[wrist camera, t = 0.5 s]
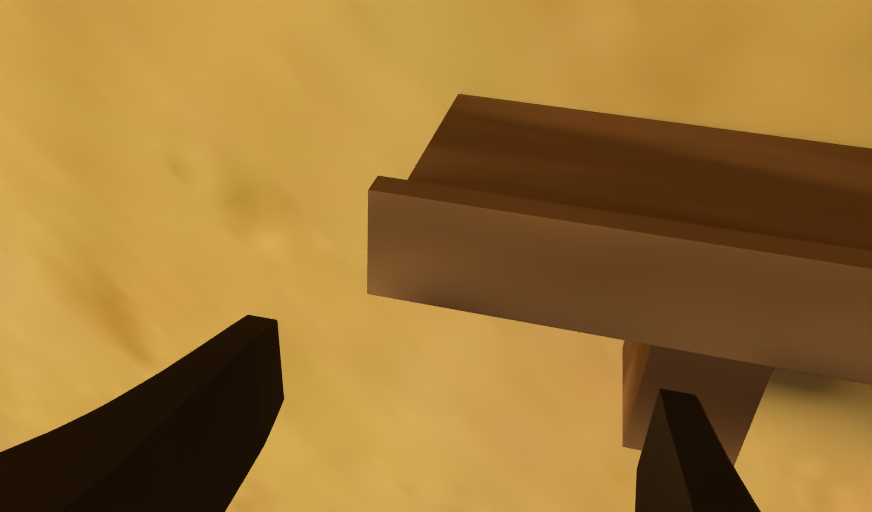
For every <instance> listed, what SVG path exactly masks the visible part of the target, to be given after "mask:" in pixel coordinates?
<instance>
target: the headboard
mask: <svg viewBox="0 0 872 512" xmlns="http://www.w3.org/2000/svg"><path fill="white" fill-rule="evenodd" d="M367 294H371V295H377V296H383V297H388V298H394V299H399V300H405V301H410V302H416V303H421V304H427V305H433V306H438V307H444V308H449V309H455V310H460V311H466V312H471V313H477V314H483V315H488V316H494V317H499V318H505V319H510V320H516V321H521V322H527V323H533V324H538V325H544V326H549V327H555V328H560V329H566V330H571V331H577V332H583V333H588V334H594V335H599V336H605V337H610V338H616V339H621V340H625V342H624V345H623V447H627V448H632V449H637V450H642V449H643V445H644V442H645V438H646V435H647V431H648V428H649V424H650V421H651V417H652V414H653V410H654V406H655V403H656V399H657V396H658V392H659V389H660V388H661V389H666V390H672V391H677V392H683V393H689V394H694V395H696V396H697V398H698V399H699V400H700V402H701V404H702V406H703V408H704V411H705V413H706V415H707V417H708V419H709V421H710V423H711V425H712V427H713V429H714V431H715V433H716V435H717V437H718V439H719V441H720V442H721V444H722V446H723V448H724V450H725V452H726V454H727V456H728V457H729V459H730V461H731V463H732V465H733V466H734V464H735V462H736V459H737V457H738V455H739V452H740V450H741V447H742V445H743V442H744V440H745V437H746V435H747V432H748V430H749V428H750V425H751V423H752V420H753V418H754V415H755V413H756V410H757V408H758V405H759V403H760V400H761V398H762V396H763V393H764V391H765V388H766V386H767V383H768V381H769V378H770V376H771V373H772V371H773V368H774V367H777V368H783V369H788V370H794V371H799V372H805V373H810V374H816V375H822V376H827V377H833V378H838V379H844V380H849V381H855V382H860V383H866V384H872V149H867V148H859V147H852V146H844V145H837V144H829V143H822V142H814V141H807V140H799V139H792V138H784V137H777V136H769V135H762V134H754V133H747V132H739V131H732V130H724V129H717V128H709V127H702V126H694V125H686V124H679V123H671V122H664V121H656V120H649V119H641V118H634V117H626V116H619V115H611V114H604V113H596V112H589V111H581V110H574V109H566V108H559V107H551V106H544V105H536V104H529V103H521V102H513V101H506V100H498V99H491V98H483V97H476V96H468V95H461V94H458V95H457V97H456V99H455V100H454V102H453V104H452V106H451V107H450V109H449V111H448V112H447V114H446V116H445V117H444V119H443V121H442V122H441V124H440V126H439V127H438V129H437V131H436V132H435V134H434V136H433V138H432V139H431V141H430V143H429V144H428V146H427V148H426V149H425V151H424V153H423V154H422V156H421V158H420V159H419V161H418V163H417V164H416V166H415V168H414V170H413V171H412V173H411V175H410V176H409V178H408V180H403V179H396V178H390V177H383V176H377V178H376V179H375V181H374V182H373V184H372V185H371V187H370V188H369V190H368V265H367Z"/></svg>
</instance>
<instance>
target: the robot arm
mask: <svg viewBox="0 0 872 512" xmlns="http://www.w3.org/2000/svg"><path fill="white" fill-rule="evenodd" d="M283 401H284V393H283V381H282V370H281V358H280V346H279V335H278V323H277V320H274V319H269V318H263V317H257V316H252V315H247V316H245V317H244V318H242V319H240V320H239V321H237V322H236V323H234V324H233V325H231V326H230V327H228V328H227V329H225V330H224V331H222V332H221V333H219V334H218V335H216V336H215V337H213V338H212V339H210V340H209V341H207V342H206V343H204V344H203V345H201V346H200V347H198V348H197V349H195V350H194V351H192V352H191V353H189V354H188V355H186V356H185V357H183V358H181V359H180V360H178V361H177V362H175V363H174V364H172V365H171V366H169V367H168V368H166V369H165V370H163V371H161V372H160V373H158V374H156V375H155V376H153V377H151V378H150V379H148V380H146V381H145V382H143V383H141V384H139V385H138V386H136V387H134V388H133V389H131V390H129V391H128V392H126V393H124V394H123V395H121V396H119V397H117V398H116V399H114V400H112V401H110V402H109V403H107V404H105V405H103V406H101V407H99V408H97V409H95V410H93V411H92V412H90V413H88V414H86V415H84V416H82V417H79V418H77V419H75V420H73V421H71V422H69V423H67V424H65V425H63V426H61V427H59V428H57V429H55V430H52V431H50V432H48V433H46V434H43V435H41V436H38V437H36V438H34V439H31V440H29V441H26V442H24V443H22V444H19V445H17V446H14V447H12V448H10V449H7V450H5V451H2V452H0V512H225V511H226V509H227V507H228V506H229V504H230V502H231V501H232V499H233V497H234V496H235V494H236V492H237V491H238V489H239V487H240V486H241V484H242V482H243V481H244V479H245V477H246V476H247V474H248V472H249V471H250V469H251V467H252V465H253V464H254V462H255V460H256V459H257V457H258V455H259V454H260V452H261V450H262V448H263V447H264V445H265V443H266V440H267V438H268V436H269V434H270V431H271V429H272V427H273V425H274V422H275V420H276V417H277V415H278V413H279V410H280V408H281V405H282V403H283ZM635 512H761V511H760V510H759V508H758V507H757V505H756V503H755V502H754V500H753V499H752V497H751V495H750V493H749V492H748V490H747V488H746V487H745V485H744V483H743V482H742V480H741V478H740V477H739V475H738V473H737V472H736V470H735V468H734V466H733V465H732V463H731V461H730V459H729V457H728V456H727V454H726V452H725V450H724V448H723V446H722V444H721V442H720V441H719V439H718V437H717V435H716V433H715V431H714V429H713V427H712V425H711V423H710V421H709V419H708V417H707V415H706V413H705V411H704V408H703V406H702V404H701V402H700V400H699V399H698V398H697V396H696V395H694V394H689V393H683V392H677V391H672V390H666V389H661V388H660V389H659V392H658V396H657V399H656V403H655V406H654V410H653V414H652V417H651V421H650V424H649V428H648V431H647V435H646V438H645V442H644V445H643V449H642V452H641V456H640V460H639V463H638V467H637V478H636V502H635Z"/></svg>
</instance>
